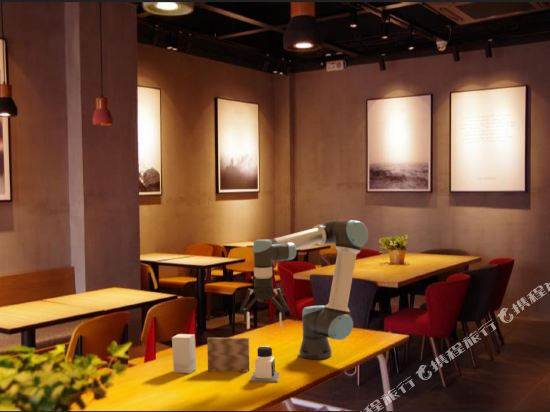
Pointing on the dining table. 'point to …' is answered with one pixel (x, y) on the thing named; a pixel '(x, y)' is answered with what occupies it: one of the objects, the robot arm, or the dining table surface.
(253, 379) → the coaster
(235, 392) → the dining table surface
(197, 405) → the dining table surface
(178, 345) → the skincare box
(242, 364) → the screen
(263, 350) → the medicine bottle
